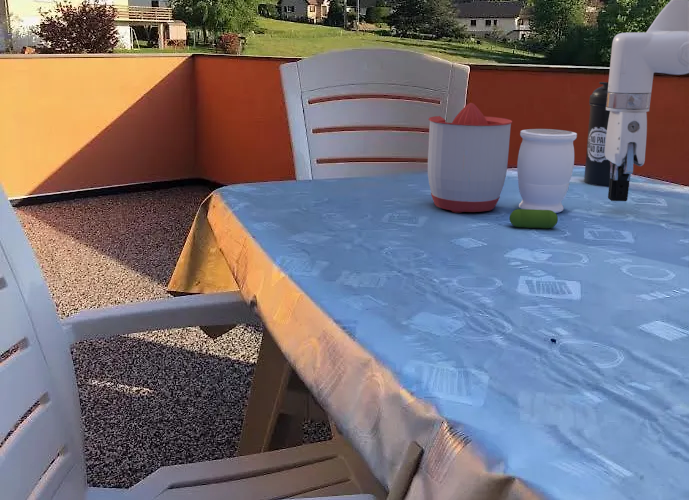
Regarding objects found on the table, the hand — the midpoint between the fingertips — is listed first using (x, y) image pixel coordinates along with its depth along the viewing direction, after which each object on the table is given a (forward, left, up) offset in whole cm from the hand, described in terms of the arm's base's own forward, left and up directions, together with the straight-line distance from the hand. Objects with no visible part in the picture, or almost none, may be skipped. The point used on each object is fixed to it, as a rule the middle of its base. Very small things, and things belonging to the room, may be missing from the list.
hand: (617, 199), depth 135 cm
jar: (+14, 0, -3) cm, 14 cm away
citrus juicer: (+29, -1, -3) cm, 29 cm away
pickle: (+18, +14, -3) cm, 23 cm away
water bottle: (-6, -31, -3) cm, 31 cm away
